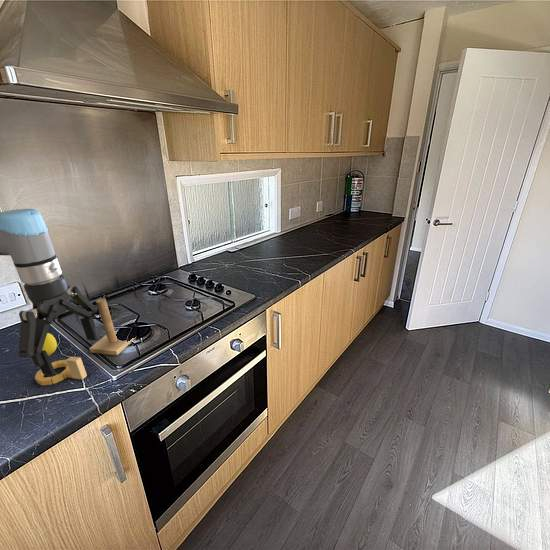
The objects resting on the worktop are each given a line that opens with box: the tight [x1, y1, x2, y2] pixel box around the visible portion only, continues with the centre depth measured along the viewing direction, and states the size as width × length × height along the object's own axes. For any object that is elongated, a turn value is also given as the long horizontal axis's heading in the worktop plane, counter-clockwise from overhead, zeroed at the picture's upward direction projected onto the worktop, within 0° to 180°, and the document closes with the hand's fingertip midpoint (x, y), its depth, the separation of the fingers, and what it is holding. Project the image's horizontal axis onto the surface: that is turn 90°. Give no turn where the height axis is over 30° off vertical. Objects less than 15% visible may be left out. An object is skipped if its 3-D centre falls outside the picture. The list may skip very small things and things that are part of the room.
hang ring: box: [34, 356, 88, 386], centre depth 77 cm, size 13×8×6 cm, turn 79°
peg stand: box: [89, 297, 137, 356], centre depth 87 cm, size 9×9×16 cm
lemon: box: [35, 332, 58, 357], centre depth 84 cm, size 6×6×8 cm
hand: (72, 355), depth 75 cm, fingers open, 13 cm apart
